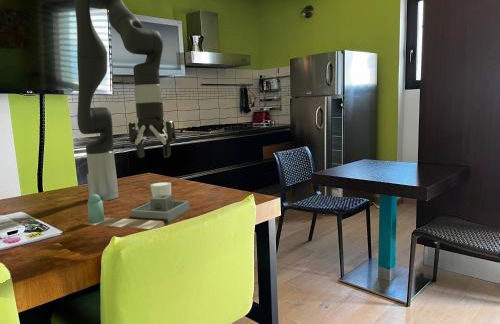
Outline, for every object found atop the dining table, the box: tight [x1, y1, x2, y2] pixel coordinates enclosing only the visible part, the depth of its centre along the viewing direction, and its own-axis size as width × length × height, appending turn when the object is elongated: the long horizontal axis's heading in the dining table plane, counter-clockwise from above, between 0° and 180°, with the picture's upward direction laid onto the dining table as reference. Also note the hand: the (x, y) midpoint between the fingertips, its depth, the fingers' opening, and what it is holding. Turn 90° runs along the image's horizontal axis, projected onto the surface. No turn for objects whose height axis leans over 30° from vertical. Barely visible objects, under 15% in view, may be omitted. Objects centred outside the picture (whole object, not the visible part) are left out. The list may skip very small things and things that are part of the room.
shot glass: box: [149, 181, 172, 198], centre depth 125 cm, size 7×7×7 cm
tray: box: [130, 200, 191, 224], centre depth 112 cm, size 12×12×3 cm
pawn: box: [86, 194, 105, 224], centre depth 105 cm, size 4×4×8 cm
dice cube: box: [149, 194, 175, 212], centre depth 112 cm, size 5×5×5 cm
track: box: [83, 216, 165, 230], centre depth 103 cm, size 22×7×1 cm, turn 71°
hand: (154, 157), depth 109 cm, fingers open, 8 cm apart
